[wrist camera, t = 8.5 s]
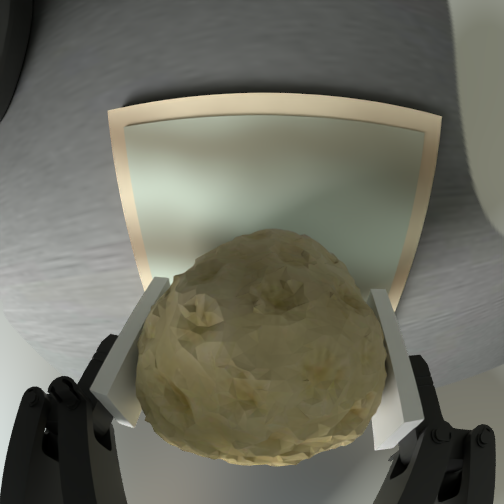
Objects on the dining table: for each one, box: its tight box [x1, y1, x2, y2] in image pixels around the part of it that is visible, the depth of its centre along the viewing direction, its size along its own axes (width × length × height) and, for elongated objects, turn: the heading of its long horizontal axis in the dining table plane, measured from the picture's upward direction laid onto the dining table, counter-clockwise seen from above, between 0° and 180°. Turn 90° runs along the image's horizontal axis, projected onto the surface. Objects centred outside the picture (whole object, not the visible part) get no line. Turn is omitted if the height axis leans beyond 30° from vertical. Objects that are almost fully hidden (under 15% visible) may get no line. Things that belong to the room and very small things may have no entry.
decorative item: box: [135, 229, 387, 466], centre depth 10 cm, size 10×10×10 cm
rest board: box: [108, 93, 442, 312], centre depth 15 cm, size 18×16×1 cm
